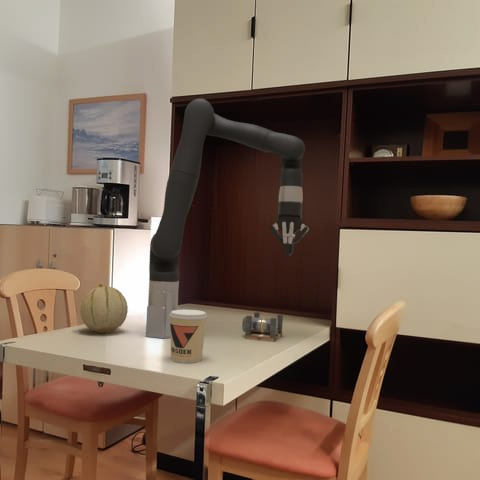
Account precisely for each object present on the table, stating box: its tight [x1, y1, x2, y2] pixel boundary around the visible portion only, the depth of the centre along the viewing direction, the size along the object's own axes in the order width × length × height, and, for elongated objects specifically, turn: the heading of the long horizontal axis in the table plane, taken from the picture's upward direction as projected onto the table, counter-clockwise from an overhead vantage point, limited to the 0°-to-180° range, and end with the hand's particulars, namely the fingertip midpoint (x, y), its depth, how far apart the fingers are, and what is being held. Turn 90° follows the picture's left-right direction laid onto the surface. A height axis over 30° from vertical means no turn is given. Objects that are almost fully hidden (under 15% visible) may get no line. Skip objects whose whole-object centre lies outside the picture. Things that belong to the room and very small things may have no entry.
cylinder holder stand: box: [244, 312, 284, 343], centre depth 157 cm, size 10×9×7 cm
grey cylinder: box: [241, 316, 279, 335], centre depth 158 cm, size 11×5×5 cm, turn 72°
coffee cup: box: [170, 309, 208, 364], centre depth 124 cm, size 9×9×12 cm
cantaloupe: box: [79, 283, 129, 334], centre depth 154 cm, size 15×15×15 cm
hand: (287, 255), depth 155 cm, fingers closed
